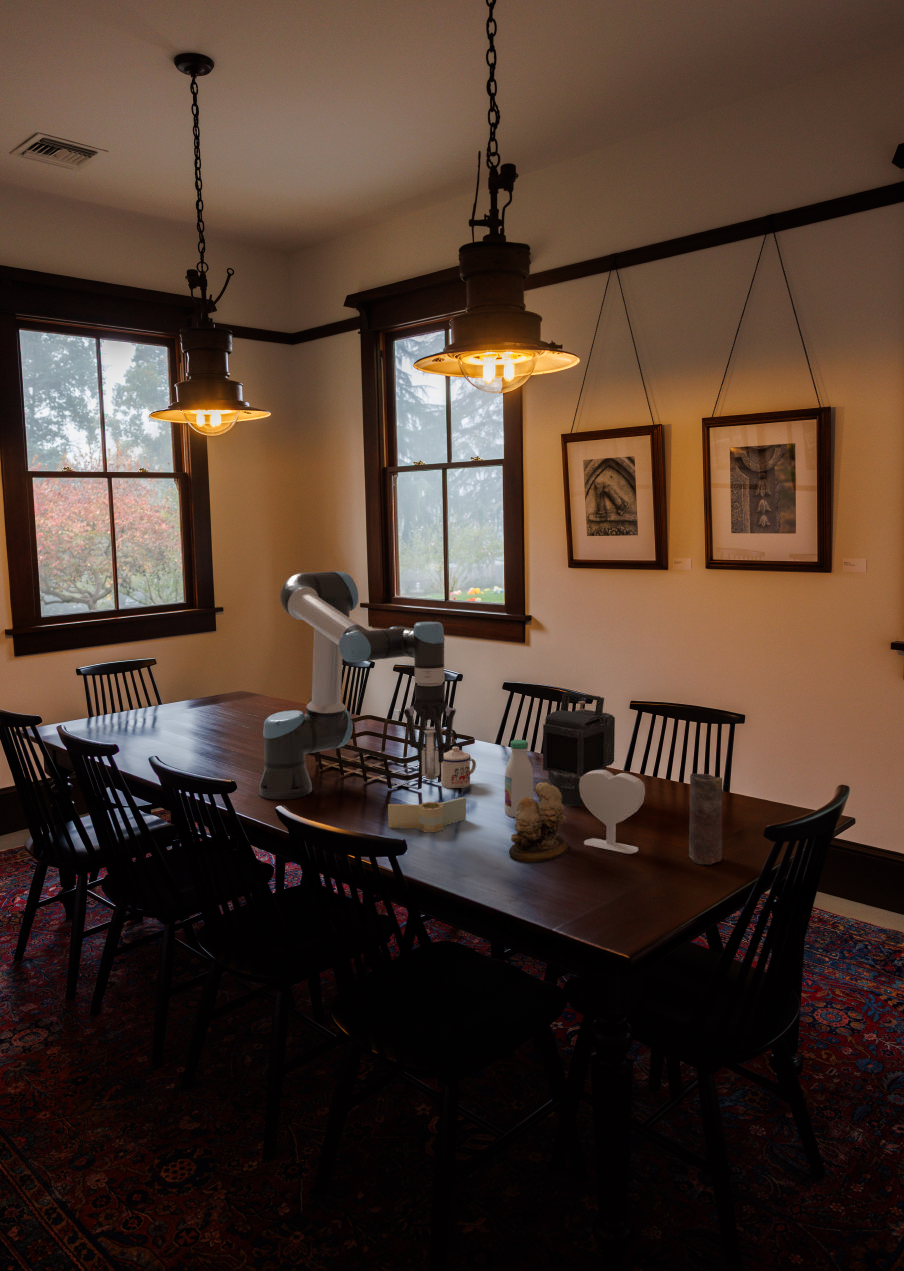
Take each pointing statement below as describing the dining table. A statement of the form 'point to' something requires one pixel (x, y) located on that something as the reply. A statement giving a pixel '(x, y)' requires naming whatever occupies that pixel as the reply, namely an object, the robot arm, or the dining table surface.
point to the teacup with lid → (456, 769)
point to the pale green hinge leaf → (448, 813)
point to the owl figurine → (539, 827)
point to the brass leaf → (414, 815)
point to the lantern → (576, 745)
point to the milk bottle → (518, 777)
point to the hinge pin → (430, 752)
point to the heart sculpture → (611, 803)
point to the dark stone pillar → (705, 819)
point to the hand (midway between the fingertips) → (430, 774)
